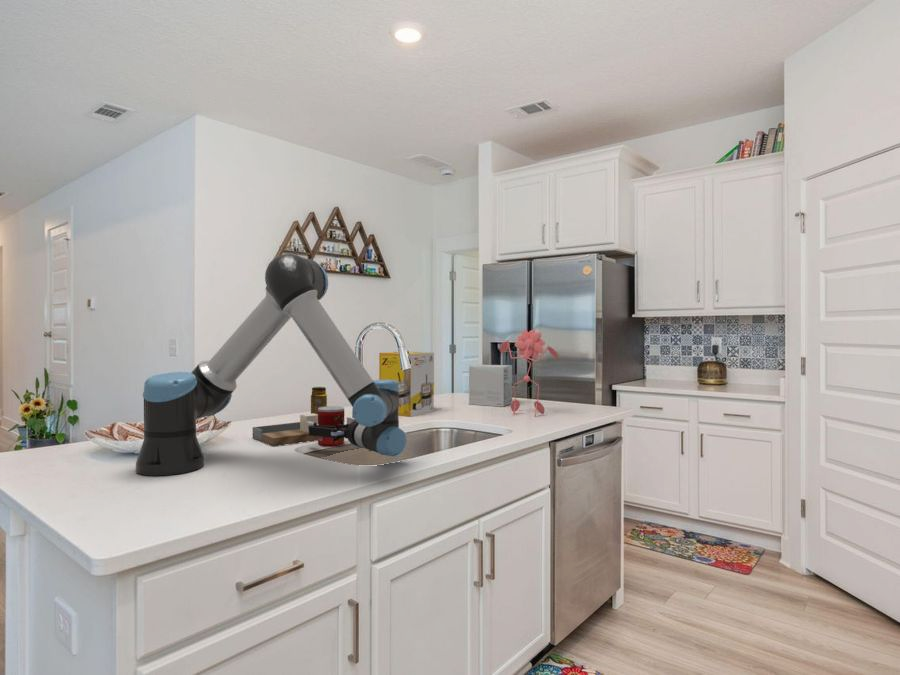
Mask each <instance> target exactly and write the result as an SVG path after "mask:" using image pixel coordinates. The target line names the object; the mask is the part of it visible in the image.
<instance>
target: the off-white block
mask: <svg viewBox="0 0 900 675" xmlns="http://www.w3.org/2000/svg"><path fill="white" fill-rule="evenodd" d="M299 418H300V419H299V422H300V430H301V431H304V432H309V431H306V422H307V421H309V422H313V423H317V424H318V414H314V413H312V414H311V413H305V414H303V413H302V414H300V415H299Z"/></svg>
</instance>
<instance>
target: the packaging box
mask: <svg viewBox="0 0 900 675" xmlns="http://www.w3.org/2000/svg"><path fill="white" fill-rule="evenodd" d="M398 352H399V351H386V352H384V351H383V352H379V354H378V355H379V358H378V361H379V364H378V365H379V366H378V367H379V368H378V370H379V373H378V380H395V381H397V382H398V385H399V416H402V417H408V418H409V417H410V418H411V417H416V416H422V415H425V414H430V412H431V413H433V412H434V409H435V408H434V407H435V406H434V405H435V404H434V402H435V401H434V400H435V399H434V397H435V395H434V394H435V387H434V386H435V352H431V351H430V352H427V351H425V352H424V351H408V352H409V356H410V360H411V364H412V366H411V369H410V370H409V371H402V370H401V367H400V359H399V353H398Z"/></svg>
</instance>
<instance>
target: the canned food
mask: <svg viewBox="0 0 900 675" xmlns="http://www.w3.org/2000/svg"><path fill="white" fill-rule="evenodd" d="M318 424H319V425H322V426H336V425H338V424H341V425H345V407H344V406H338V405H337V406H336V405H335V406H334V405H333V406H331V405H329V406H328V405H327V407H320V408H318ZM341 428H342V427H340V430H341ZM317 444H318V446H320V447H326V448H330V447H332V448H333V447H339V446H342V445H344V444H345V438H344V437H337V439H334V438H329V437H319V436H318V441H317Z"/></svg>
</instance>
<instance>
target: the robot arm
mask: <svg viewBox="0 0 900 675" xmlns="http://www.w3.org/2000/svg"><path fill="white" fill-rule="evenodd" d="M264 281H265V285H266V286H265V289H264V290H265V296H264V298H262V300H261V301H260V302H259V304H257V306H256V307H255V308H254V309H253V311H251V313H250V314H249V315H248V316H247V317H246V318H245V319H244V321H243V322H242V323H241V324H240V325H239V326H238V327H237V328H236V330H235V331H234V332H233V333H232V334H231V335H230V337H229V338H228V339H226V341H225V342H224V344H223V345H222V346H221V347H220V348H219V349H218V350H217V351H216V353H215V354H214V355H213V356H212V357H211V359H209V360H202V361H200V362H199V363H198V364H197V366H195V368H193V370H192V371H191V372H188V371H175V372H174V371H172V372H167V373H158V374H155V375H152V376H150V377H148V378H147V379H146V380H145V381H144V384H143V385H144V386H143V393H142V397H143V441H142V444H141V448H140V450H139V453H138V456H137V459H136V462H135V472H136V474H139V475H142V476H143V475H144V476H153V477H154V476H172V475H179V474H185V473H190V472H194V471H197V470H199V469H202V468H203V467H204V464H205V462H204V460H205V457H204V453H203V450H202V448H201V445H200V442H199V439H198V438H197V420H199V419H201V418H206V417H213V416H214V415H216V414H219V413H220V412H221V411H223V410H224V409H226V407H227V406H228V405H229V404H230V401H231V399H232V396H233V392H234V391H235V390H236V389H237V386H238V384H237V379H239V377H241V375H242V374H243V373H244V372H245V370H246V369H247V368H248V367H249V366H250V365H251V364H252V363H253V361H254V360H255V359H256V358H257V357H258V356H259V355H260V354H261V352H262V351H263V350H264V349H265V348H266V347H267V345H268V344H269V343H270V342H271V341H272V339H273V338H274V337H276V335H277V334H278V333H279V332H280V330H282V328H283V327H284V326H285V325H286V324H287V323H288V322H289V320H290V319H291V318H292V320H293V322H294V323H295V325H296V326H297V327H298V329H299V330H300V332H301V333H302V334H303V337H305V339H306V340H307V341H308V343H309V345H310V346H311V348H312V350H314V353H315V354H316V356H317V357H318V358H319V360H320V361H321V363H322V364H323V365H324V367H325V368H326V370H327V371H328V372H329V374H330V375H331V377H332V378H333V380H334V381H335V383H336V384H337V386H338V388H339V389H340V391H342V394H343V395H344V396H345V397H346V399H347V401H348V402H349V403H350V405H351V406H352V415H353V417H351V416H346V423H345V424H344V425H341V424H338V425H336V426H322V425H319V424H317V423H313V422H309V421H307V422H306V431H309V436H319V437H329V438H334V439H337V437H344V439H347V441H348V442H349V444H351V445H352V446H356V447H359V448H363V449H366V450H368V452H375V453H376V454H377V453H378V454H379V455H382V456H389V457H396V456H398V455H400V454H401V453H403V451H404V450H405V448H406V445H407V443H408V442H407V441H408V440H407V439H408V438H407V436H406V432H405V431H404V430H403V429H402V428H400V420H399V416H400V415H399V385H398V382H397V381H395V380H379V379H373V378H372V377H371V376H370V374H369V372H368V371H367V369H366V368H365V367H364V365H363V364H362V362H361V361H360V359H359V358H358V357H357V355H356V353H355V352H354V350H353V349H352V348H351V346H350V344H349V343H348V342H347V340H346V339H345V337H344V336H343V334H342V333H341V331H340V329H338V327H337V326H336V324H335V322H334V321H333V319H332V318H331V316H329V314H328V312H327V311H326V309H325V308H324V307H323V305H322V304H321V303H320V300H322V299H323V298H324V297H325V295H326V294H327V291H328V288H329V278H328V274H327V272H326V270H325V269H324V268H323V267H322V265H320V264H319V263H317V262H316V261H315V260H314V259H310V258H305V257H302V256H300V255H297V254H294V253H284V254H280V255H278V256H276V257H274V258H273V259H272V260H271V261H270V262H269V263H268V264H267V267H266V270H265V273H264ZM340 427H342V428H341V430H340Z"/></svg>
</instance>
